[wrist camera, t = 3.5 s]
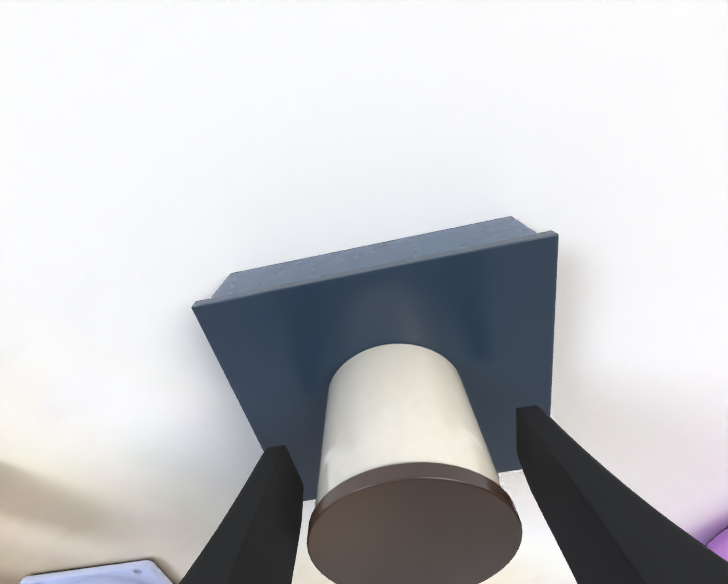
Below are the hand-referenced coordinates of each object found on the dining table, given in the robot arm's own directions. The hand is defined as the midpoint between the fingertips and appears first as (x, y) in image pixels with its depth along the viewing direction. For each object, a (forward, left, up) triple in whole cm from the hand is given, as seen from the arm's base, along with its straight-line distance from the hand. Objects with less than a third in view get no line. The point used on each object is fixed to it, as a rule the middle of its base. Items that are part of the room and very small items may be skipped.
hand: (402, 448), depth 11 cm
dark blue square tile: (0, 0, -5) cm, 5 cm away
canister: (0, 0, -2) cm, 2 cm away
